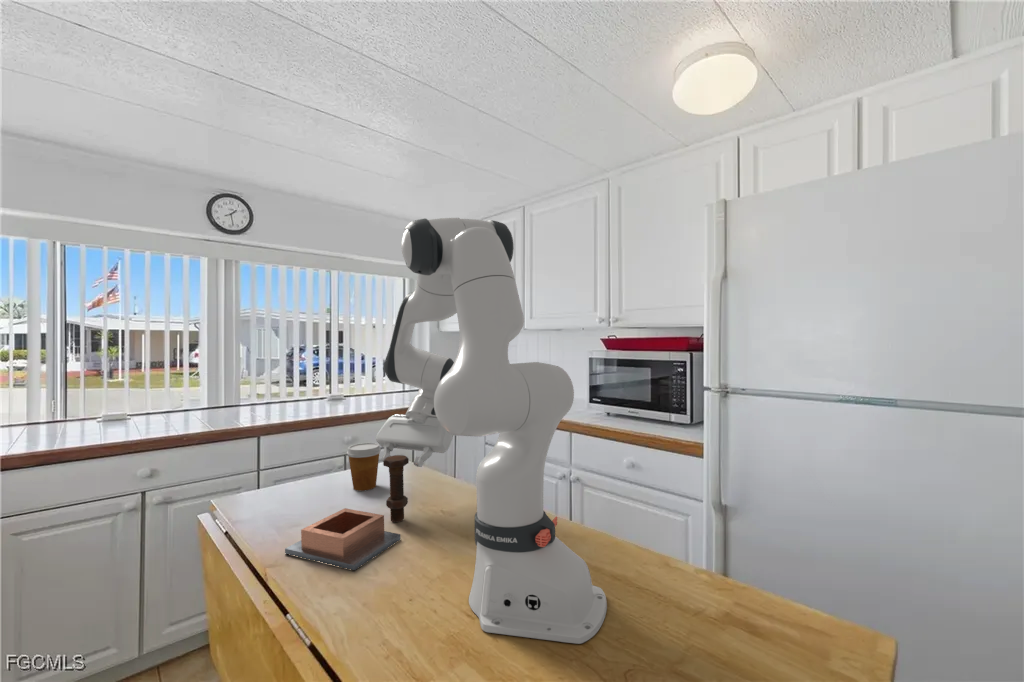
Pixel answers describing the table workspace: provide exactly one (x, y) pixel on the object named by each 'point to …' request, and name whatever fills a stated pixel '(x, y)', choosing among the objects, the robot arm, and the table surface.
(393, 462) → the bolt
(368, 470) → the disposable coffee cup
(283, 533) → the table surface
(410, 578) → the table surface
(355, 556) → the socket
